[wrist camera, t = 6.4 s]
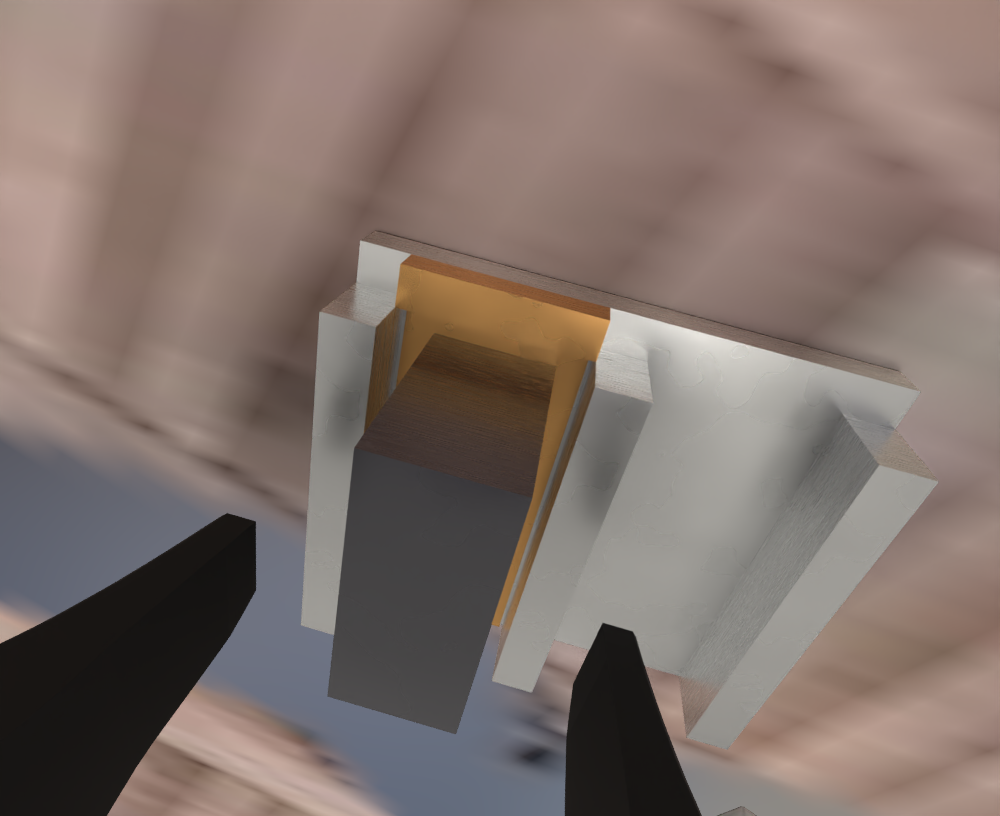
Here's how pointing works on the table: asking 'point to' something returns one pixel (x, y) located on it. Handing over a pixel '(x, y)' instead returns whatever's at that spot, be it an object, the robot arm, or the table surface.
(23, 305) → the table surface
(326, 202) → the table surface
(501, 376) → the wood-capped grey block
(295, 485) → the table surface
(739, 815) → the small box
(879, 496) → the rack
